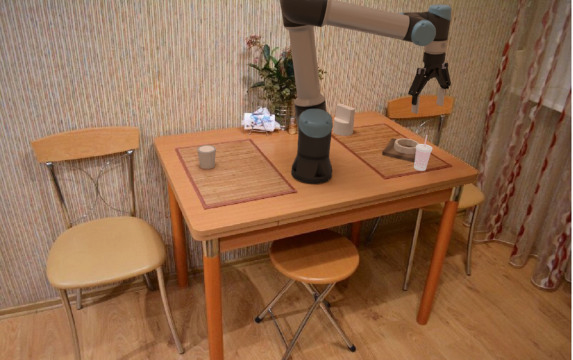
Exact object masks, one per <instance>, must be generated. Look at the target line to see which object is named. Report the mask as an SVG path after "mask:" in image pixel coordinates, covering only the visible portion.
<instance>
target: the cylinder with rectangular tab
mask: <svg viewBox="0 0 573 360" xmlns="http://www.w3.org/2000/svg"><path fill="white" fill-rule="evenodd" d="M355 113H356V108H354V107H352V106H349V105H346V104H343V103H337V104H336V105H335V115H334V118H333V128H332V132H333V134H335V135H337V136H343V137H347V136H348V137H349V136H352V135H353V133H354V126H355Z"/></svg>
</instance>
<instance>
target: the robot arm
mask: <svg viewBox="0 0 573 360" xmlns="http://www.w3.org/2000/svg"><path fill="white" fill-rule="evenodd" d="M279 4H280V10H281V17H282V23H283V28H284V29H286V30H287V31H288V35H289V36H288V37H289V42H290V51H291V58H292V65H293V71H294V73H293V74H294V81H295V88H296V95H297V97H296V98H295V99H294V101H293V103H294V111H295V120H296V126H297V150H296V151H297V152H296V156H295V158H294V161H293V163H292V165H291V169H290V174H291V176H292V178H293V179H294V180H297V181H298V182H301V183H304V184H308V185H320V184H324V183H327V182H329V181H330V180H331V179H332V177H333V167H332V162H331V159H330V151H331V150H330V149H331V142H332V141H331V140H332V132H333V125H334V119H333V117H332V115H331V114H330V113H329V112H328V111H327V104H326V103H327V102H326V96H324V95H323V94H322V93H321V85H320V76H319V67H318V58H317V48H316V47H317V46H316V38H315V37H316V36H315V30H314V28H315V27H318V28H323V27H324V26H331V27H336V28H340V29H346V30H350V31H355V32H356V31H357V32H361V33H364V34H365V33H366V34H371V35H375V36H380V37H386V38H390V39H394V40H398V41H399V40H400V41H404V42H409V43H413V44H414V45H416V46H418V47H423V51H424V52H423V54H422V55H423V57H422V62H423V67H417V68H416V72H415V73H416V74H415V76H414V77H413V78H414V79H413V80H412V83H411V85H410V88H409V90H408V92H407V95H409V96H411V110H410V111H411V113H413V114H417V115H418V114H419V109H420V101H421V96H420V94H421V93H422V91H423V89H424V88H425V86H426V84H427V83H428V82H430V80H431V79H434V78H435V80H436V81H437V83H438V85H439V87H438V90H437V96H436V105H437V106H440V107H443V106H444V102H445V97H446V92H447V90H449V89H450V87H451V86H452V82H451V78H450V71H449V63H448V62H446V55H447V54H446V51H447V48H448V40H449V33H450V28H451V22H452V12H453V11H452V6H450V5H448V4H442V3H441V4H440V3H439V4H436V3H435V4H430V6H429V7H428V10H427V11H422V12H421V11H417V12H416V11H415V12H412V11H411V12H405V11H403V12H398V13H397V12H392V11H387V10H384V9H378V8H373V7H370V6H364V5H359V4H354V3H350V2H347V1H341V0H279Z"/></svg>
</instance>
